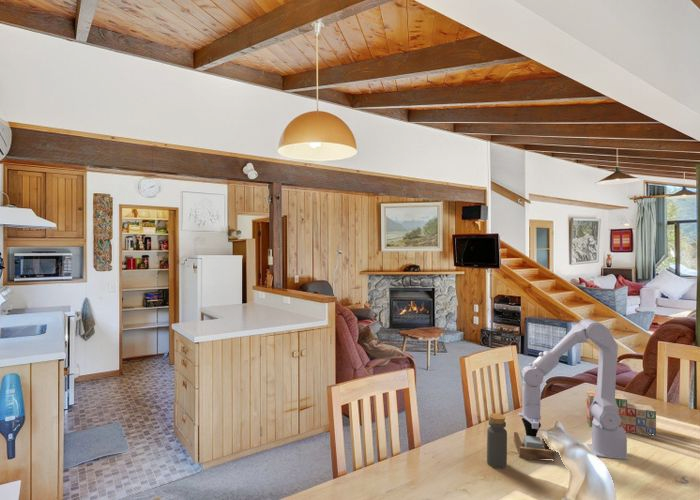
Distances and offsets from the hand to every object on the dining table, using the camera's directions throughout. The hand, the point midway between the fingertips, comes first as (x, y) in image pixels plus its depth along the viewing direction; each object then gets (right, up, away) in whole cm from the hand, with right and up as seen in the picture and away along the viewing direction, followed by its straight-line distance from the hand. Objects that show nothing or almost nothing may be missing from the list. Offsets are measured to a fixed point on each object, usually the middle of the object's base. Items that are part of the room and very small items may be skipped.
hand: (530, 441), depth 143 cm
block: (-1, -1, -4) cm, 5 cm away
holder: (-1, -1, -3) cm, 4 cm away
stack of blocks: (+40, -2, +15) cm, 43 cm away
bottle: (-16, -1, -13) cm, 21 cm away
